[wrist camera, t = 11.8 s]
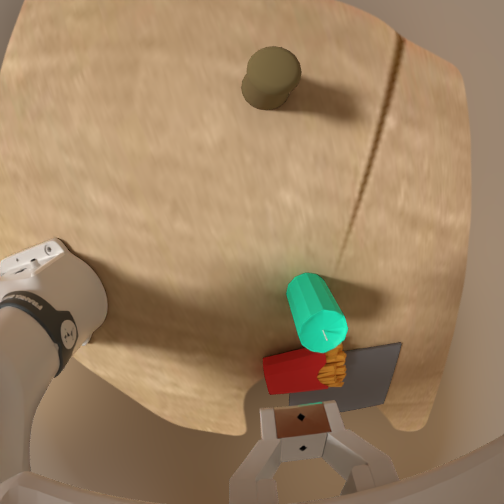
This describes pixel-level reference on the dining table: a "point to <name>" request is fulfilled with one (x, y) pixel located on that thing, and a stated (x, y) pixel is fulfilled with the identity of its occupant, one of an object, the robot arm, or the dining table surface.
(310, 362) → the french fries
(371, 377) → the mat
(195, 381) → the dining table surface
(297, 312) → the candle
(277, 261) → the dining table surface
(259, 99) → the cork
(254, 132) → the dining table surface
